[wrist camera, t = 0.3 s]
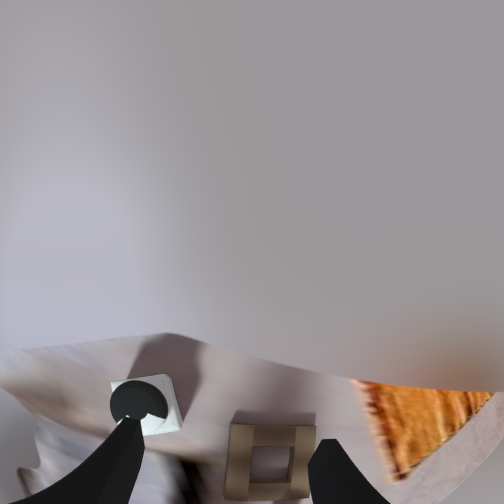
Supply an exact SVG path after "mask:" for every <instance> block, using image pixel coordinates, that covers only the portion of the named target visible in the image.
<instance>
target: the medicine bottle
mask: <svg viewBox="0 0 504 504" xmlns="http://www.w3.org/2000/svg"><path fill="white" fill-rule="evenodd" d="M111 387H112V392H113V394H112V396H111V399H110V410H111V414H112V416H113V418H114V420H115V422H116V423H117V424H119V423H120V422H121V421H122V419H123V418H124V417H130V418H133V419H137V420H141V427H142V433H143V436H145V435H153V434H160V433H167V432H173V431H179V430H180V429H181V427H182V424H183V421H182V418H181V414H180V411H179V407H178V403H177V400H176V396H175V392H174V388H173V384H172V380H171V378H170V377H169V376H167V375H166V374H159V375H153V376H147V377H140V378H133V379H126V380H118V381H112V382H111Z"/></svg>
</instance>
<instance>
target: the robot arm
mask: <svg viewBox="0 0 504 504" xmlns="http://www.w3.org/2000/svg"><path fill="white" fill-rule="evenodd" d="M144 449H145V445H144V439H143V433H142V427H141V420H137V419H133V418H130V417H124V418H123V419H122V421H121V422H120V423H119V424H118V426H117V427H116V428H115V429H114V431H113V432H112V433H111V434H110V435H109V436H108V438H107V439H106V440H105V441H104V442H103V443H102V444H101V445H100V446H99V447H98V448H97V449H96V450H95V451H94V452H93V453H92V454H91V455H90V456H89V457H88V458H87V459H86V460H85V461H84V462H83V463H81V464H80V465H79V466H78V467H77V468H76V469H74V470H73V471H72V472H71V473H69V474H68V475H66V476H65V477H64V478H62V479H61V480H59V481H58V482H56V483H54V484H53V485H51V486H49V487H48V488H46V489H44V490H42V491H40V492H38V493H36V494H34V495H31V496H29V497H27V498H24V499H22V500H19V501H16V502H13V503H9V504H128V502H129V499H130V496H131V493H132V491H133V488H134V485H135V482H136V479H137V476H138V473H139V471H140V468H141V463H142V459H143V454H144ZM308 478H309V487H310V491H311V496H312V500H313V504H390V503H389V502H388V501H387V500H386V499H385V498H384V497H383V496H382V495H381V494H380V493H379V492H378V491H377V490H376V489H375V488H374V487H373V486H372V485H371V484H370V483H369V482H368V481H367V479H366V478H365V477H364V476H363V474H362V473H361V472H360V471H359V470H358V468H357V467H356V466H355V464H354V463H353V462H352V460H351V459H350V458H349V456H348V455H347V454H346V452H345V451H344V449H343V448H342V446H341V445H340V444H339V442H338V441H337V440H336V439H322V440H321V442H320V444H319V446H318V447H317V449H316V451H315V453H314V454H313V456H312V458H311V459H310V461H309V463H308Z"/></svg>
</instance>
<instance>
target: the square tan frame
mask: <svg viewBox="0 0 504 504" xmlns="http://www.w3.org/2000/svg"><path fill="white" fill-rule="evenodd" d="M315 436H316V426H313V425H255V424H239V423H230V431H229V441H228V452H227V463H226V474H225V485H224V498H225V500H235V501H272V500H290V499H302V498H309V494H310V487H309V478H308V463H309V461H310V459H311V458H312V456H313V454H314V448H315ZM252 446H290V454H289V464H288V474H287V479H282V480H249V477H250V467H251V456H252Z"/></svg>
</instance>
